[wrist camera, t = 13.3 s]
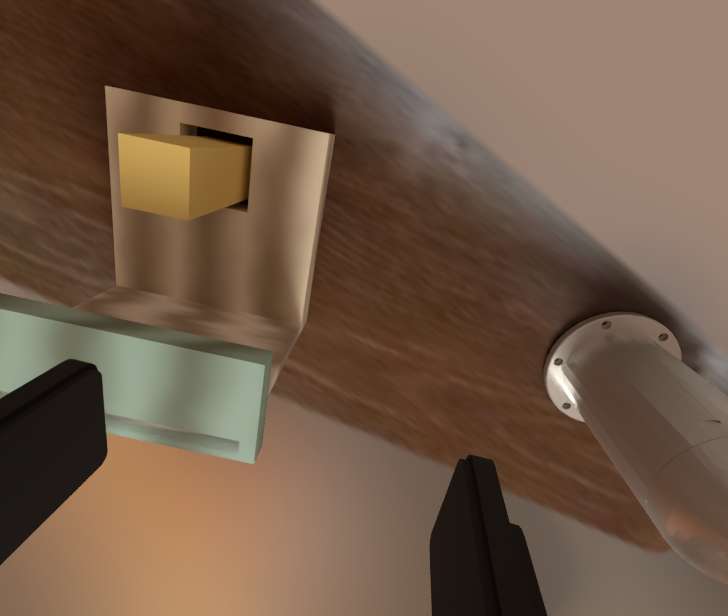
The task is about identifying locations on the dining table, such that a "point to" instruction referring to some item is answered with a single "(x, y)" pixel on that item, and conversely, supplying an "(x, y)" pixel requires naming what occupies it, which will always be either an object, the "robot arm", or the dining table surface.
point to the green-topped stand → (190, 292)
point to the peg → (182, 174)
